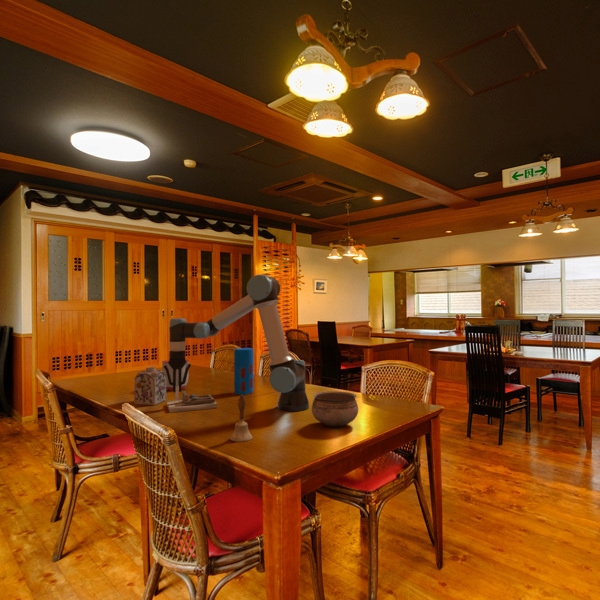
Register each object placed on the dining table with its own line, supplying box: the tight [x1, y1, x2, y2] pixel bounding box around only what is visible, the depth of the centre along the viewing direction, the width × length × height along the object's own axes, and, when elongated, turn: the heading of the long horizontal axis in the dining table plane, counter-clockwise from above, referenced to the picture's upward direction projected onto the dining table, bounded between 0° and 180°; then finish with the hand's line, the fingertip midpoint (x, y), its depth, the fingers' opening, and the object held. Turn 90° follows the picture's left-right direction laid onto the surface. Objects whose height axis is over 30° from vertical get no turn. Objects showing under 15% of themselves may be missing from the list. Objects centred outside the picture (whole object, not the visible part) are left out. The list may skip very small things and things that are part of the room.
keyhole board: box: [166, 393, 218, 414], centre depth 195 cm, size 16×22×5 cm
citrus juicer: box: [161, 359, 190, 392], centre depth 239 cm, size 16×17×20 cm
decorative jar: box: [133, 366, 167, 406], centre depth 205 cm, size 12×12×18 cm
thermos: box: [233, 347, 254, 396], centre depth 227 cm, size 11×11×25 cm
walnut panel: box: [181, 391, 216, 405], centre depth 197 cm, size 12×14×4 cm
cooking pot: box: [311, 390, 359, 429], centre depth 162 cm, size 25×19×12 cm
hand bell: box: [229, 395, 254, 443], centre depth 147 cm, size 8×8×16 cm
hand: (176, 398), depth 193 cm, fingers closed
